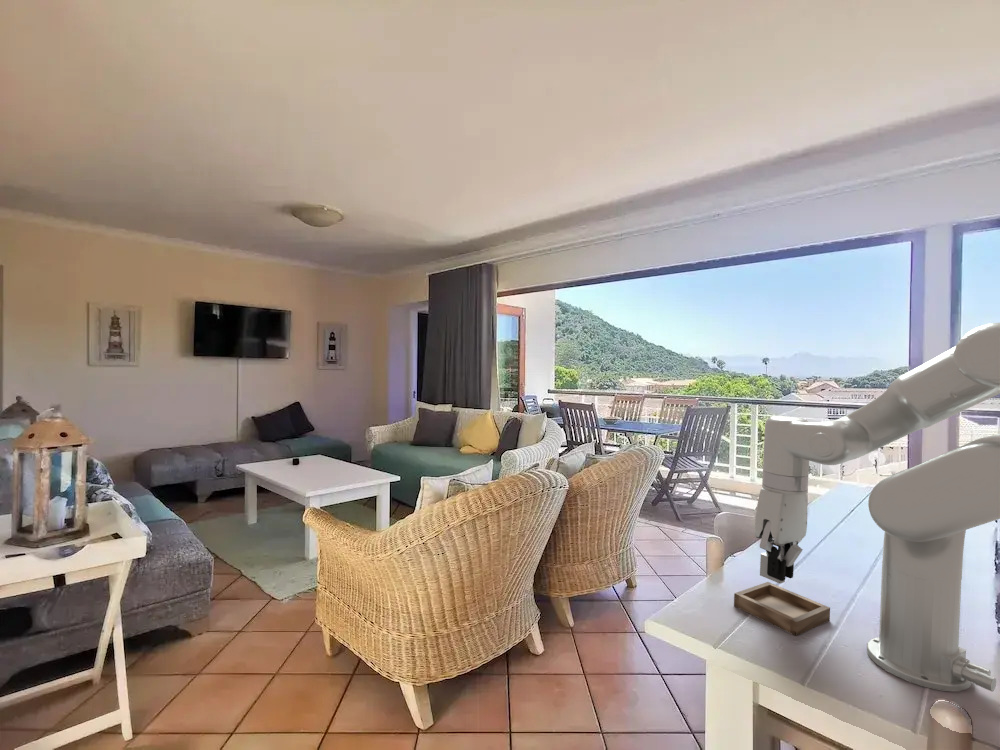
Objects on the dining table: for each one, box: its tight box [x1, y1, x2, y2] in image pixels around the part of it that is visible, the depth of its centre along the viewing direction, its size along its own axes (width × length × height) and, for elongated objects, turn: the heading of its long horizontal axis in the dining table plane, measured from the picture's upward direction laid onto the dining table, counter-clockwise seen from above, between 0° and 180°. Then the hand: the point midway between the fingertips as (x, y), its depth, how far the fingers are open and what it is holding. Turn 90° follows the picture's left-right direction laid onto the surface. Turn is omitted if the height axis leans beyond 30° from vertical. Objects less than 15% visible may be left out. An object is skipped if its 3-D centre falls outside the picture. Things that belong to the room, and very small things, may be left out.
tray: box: [733, 581, 831, 637], centre depth 93 cm, size 12×11×2 cm
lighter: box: [759, 544, 804, 584], centre depth 93 cm, size 7×2×8 cm, turn 29°
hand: (779, 575), depth 94 cm, fingers closed on lighter, 1 cm apart
